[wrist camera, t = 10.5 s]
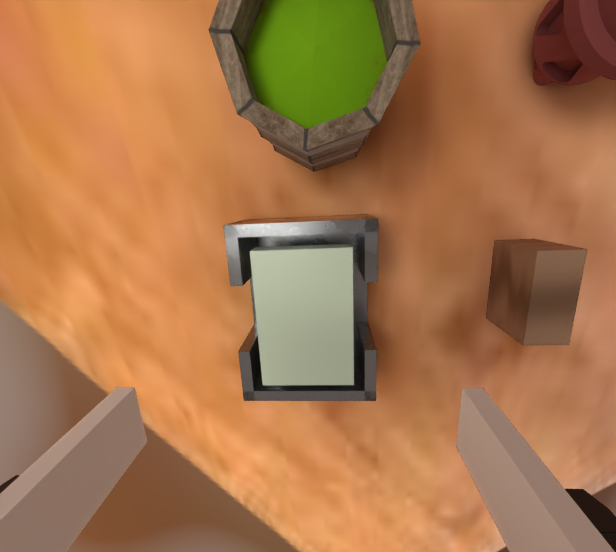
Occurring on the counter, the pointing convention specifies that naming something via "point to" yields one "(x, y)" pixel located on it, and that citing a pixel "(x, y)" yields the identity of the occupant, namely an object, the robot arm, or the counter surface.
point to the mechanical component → (575, 41)
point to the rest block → (535, 290)
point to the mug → (314, 69)
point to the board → (304, 313)
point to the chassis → (365, 269)
